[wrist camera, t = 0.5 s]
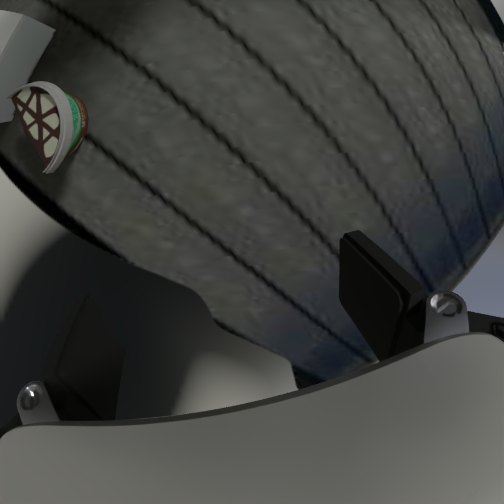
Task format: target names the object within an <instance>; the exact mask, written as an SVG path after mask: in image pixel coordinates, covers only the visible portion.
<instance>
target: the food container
mask: <svg viewBox="0 0 504 504" xmlns="http://www.w3.org/2000/svg"><path fill="white" fill-rule="evenodd" d="M6 98H7V99H12V102H13V104H14V106H15V108H16V110H17V112H18V115H19V117H20V120H21V123H22V126H23V128H24V131H25V133H26V135H27V136H28V138H29V140H30V141H31V143H32V145H33V146H34V148H35V149H36V151H37V153H38V155H39V157H40V159H41V160H42V162H43V164H44V166H45V168H46V169H45V170H44V171H43V173H44V172H46V174H47V173H53V172H54V171H55V170H56V169H57V168H58V167H59V165H60V164H61V162H62V161H63V159H64V158H66V157H67V156H69V155H70V154H72V153H73V152H74V151H75V150H76V149H77V148H78V147H79V146H80V144H81V142H82V141H83V139H84V137H85V134H86V131H87V128H88V114H87V109H86V107H85V105H84V103H83V102H82V101H81V100H80V99H79V98H77V97H76V96H73V95H71V94H67V93H64V92H63V91H62V90H61V89H60V88H59V87H57V86H56V85H54V84H52V83H49V82H44V81H38V82H33V83H30V84H26V85H23V86H21V87H19V88H18V89H16V90H15V91H13V92H12V93H11V94H10V95H9V96H7V97H6Z"/></svg>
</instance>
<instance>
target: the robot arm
mask: <svg viewBox="0 0 504 504" xmlns="http://www.w3.org/2000/svg"><path fill="white" fill-rule="evenodd" d="M339 299H340V302H341V304H342V306H343V307H344V309H345V310H346V312H347V313H348V315H349V316H350V318H351V319H352V321H353V322H354V323H355V325H356V326H357V328H358V329H359V331H360V332H361V334H362V335H363V337H364V338H365V340H366V341H367V343H368V344H369V346H370V347H371V349H372V350H373V352H374V353H375V355H376V357H377V358H378V360H379V361H380V362H378V363H376V364H373V365H370V366H368V367H365V368H362V369H360V370H357V371H354V372H352V373H349V374H346V375H343V376H341V377H338V378H335V379H332V380H329V381H326V382H323V383H320V384H317V385H313V386H310V387H307V388H304V389H300V390H297V391H293V392H290V393H286V394H283V395H278V396H275V397H271V398H267V399H263V400H259V401H254V402H250V403H245V404H240V405H236V406H231V407H226V408H221V409H215V410H209V411H204V412H197V413H189V414H182V415H175V416H167V417H156V418H145V419H131V420H115V414H116V407H117V399H118V392H119V386H120V379H121V373H122V367H123V362H124V356H125V350H124V347H123V344H122V343H121V341H120V340H119V338H118V336H117V335H116V333H115V331H114V330H113V328H112V326H111V325H110V323H109V321H108V319H107V318H106V316H105V314H104V312H103V310H102V309H101V307H100V305H99V303H98V301H97V299H96V298H95V297H94V296H91V295H90V294H89V293H86V294H82V295H78V296H75V298H74V299H73V301H72V303H71V305H70V307H69V310H68V311H67V314H66V316H65V318H64V320H63V322H62V324H61V326H60V329H59V331H58V333H57V335H56V337H55V340H54V342H53V345H52V347H51V349H50V352H49V354H48V356H47V359H46V361H45V364H44V367H43V369H42V372H41V376H42V378H43V379H44V380H45V382H44V384H43V383H41V382H38V381H34V382H31V383H29V384H27V385H26V386H25V387H24V388H23V389H22V391H21V392H20V394H19V396H18V401H17V407H18V411H19V413H18V414H17V415H16V416H15V417H13V418H12V419H11V420H10V421H9V422H8V423H7V424H5V425H4V426H3V427H2V428H1V429H0V504H504V318H500V317H495V316H490V315H485V314H480V313H475V312H470V311H467V306H466V303H465V301H464V300H463V299H462V298H461V297H460V296H459V295H458V294H455V293H453V292H451V291H447V290H439V291H435V292H433V293H431V294H430V295H429V296H428V295H427V294H426V293H425V288H424V287H423V286H422V285H421V284H420V283H419V282H418V281H417V280H416V279H414V278H413V277H412V276H411V275H410V274H409V273H408V272H407V271H406V270H405V269H404V268H402V267H401V266H400V265H399V264H398V263H397V262H396V261H395V260H394V259H392V258H391V257H390V256H389V255H388V254H387V253H386V252H384V251H383V250H382V249H381V248H380V247H379V246H377V245H376V244H375V243H374V242H373V241H372V240H370V239H369V238H368V237H367V236H366V235H364V234H363V233H362V232H361V231H359V230H357V231H353V232H349V233H345V234H344V236H343V238H341V239H340V274H339Z"/></svg>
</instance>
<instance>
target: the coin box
mask: <svg viewBox="0 0 504 504" xmlns="http://www.w3.org/2000/svg"><path fill="white" fill-rule="evenodd" d="M56 31H57V30H55V29H53V28H51V27H49V26H47V25H45V24H43V23H41V22H39V21H36V20H34V19H32V18H30V17H28V16H25V15H23V14H18V13H13V12H8V11H3V10H0V123H2V122H8V121H12V120H13V117H14V114H15V112H16V108H15V106H14V104H13V102H12V99H7V98H6V97H7V96H9V95H10V94H11V93H12V92H13V91H15V90H16V89H18V88H19V87H21V86H23V85H26V84H27V83H28V81H29V79H30V77H31V75H32V73H33V71H34V69H35V67H36V65H37V63H38V61H39V60H40V58H41V56H42V54H43V52H44V51H45V49H46V47H47V45H48V44H49V42H50V40H51V39H52V37H53V36H54V34H55V32H56Z"/></svg>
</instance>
